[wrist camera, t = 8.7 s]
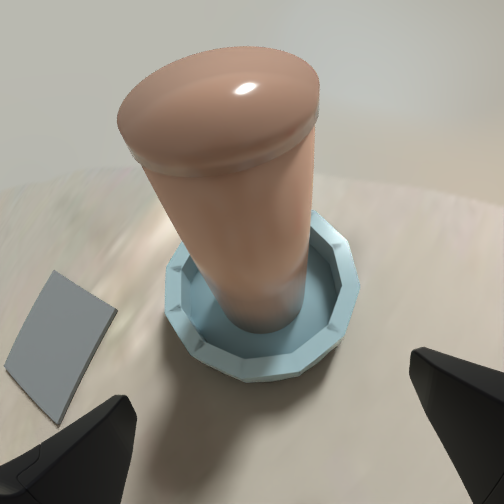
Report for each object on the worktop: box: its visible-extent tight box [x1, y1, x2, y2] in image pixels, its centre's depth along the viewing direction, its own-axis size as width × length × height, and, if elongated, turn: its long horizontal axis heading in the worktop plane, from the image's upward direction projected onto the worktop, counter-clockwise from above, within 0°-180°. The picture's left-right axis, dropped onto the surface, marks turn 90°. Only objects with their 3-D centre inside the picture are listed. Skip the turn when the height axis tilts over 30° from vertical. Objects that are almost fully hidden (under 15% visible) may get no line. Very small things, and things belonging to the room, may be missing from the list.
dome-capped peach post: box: [117, 46, 320, 334], centre depth 13 cm, size 5×5×14 cm
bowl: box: [165, 210, 360, 383], centre depth 19 cm, size 11×11×3 cm
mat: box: [4, 270, 118, 424], centre depth 19 cm, size 10×8×1 cm
